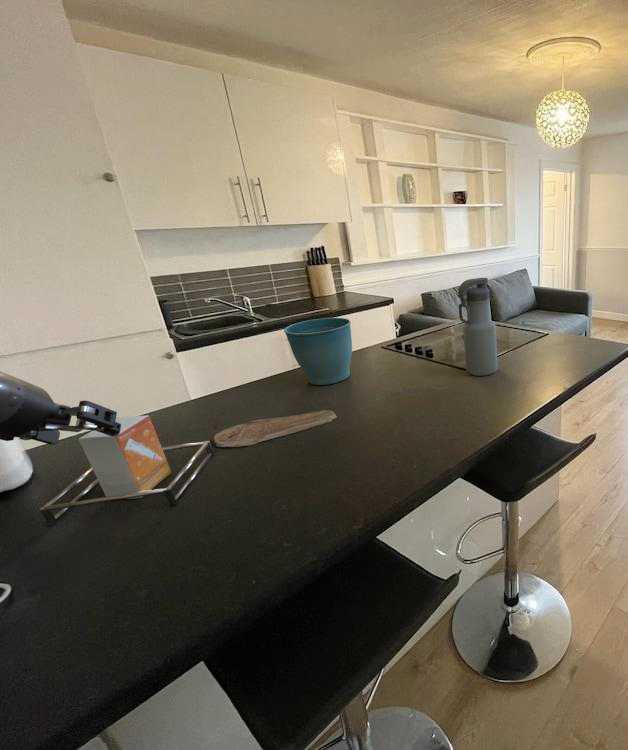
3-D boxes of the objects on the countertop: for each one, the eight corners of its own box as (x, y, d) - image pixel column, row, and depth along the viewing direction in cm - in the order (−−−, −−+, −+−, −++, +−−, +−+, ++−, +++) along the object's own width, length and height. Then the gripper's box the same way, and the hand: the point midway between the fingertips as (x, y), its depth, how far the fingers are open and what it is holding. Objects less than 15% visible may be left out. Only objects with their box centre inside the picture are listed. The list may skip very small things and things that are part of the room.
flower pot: (286, 381, 125) (273, 327, 118) (341, 364, 137) (331, 314, 131) (315, 395, 114) (301, 337, 107) (371, 375, 126) (362, 322, 120)
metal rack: (47, 526, 68) (37, 509, 67) (112, 469, 83) (105, 454, 82) (175, 506, 72) (168, 489, 70) (215, 454, 87) (210, 439, 86)
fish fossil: (329, 405, 107) (329, 401, 107) (339, 423, 100) (338, 419, 99) (213, 434, 94) (212, 430, 94) (214, 456, 87) (213, 452, 86)
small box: (143, 498, 74) (114, 436, 69) (106, 501, 74) (75, 438, 69) (173, 472, 82) (149, 414, 77) (140, 474, 81) (114, 416, 76)
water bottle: (473, 379, 120) (467, 283, 109) (459, 369, 128) (452, 279, 117) (503, 372, 125) (500, 279, 114) (488, 363, 132) (483, 275, 122)
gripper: (59, 367, 55) (140, 407, 69) (-73, 380, 52) (40, 418, 67) (46, 420, 52) (133, 450, 67) (-94, 437, 49) (29, 464, 64)
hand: (87, 434), depth 67 cm, fingers open, 8 cm apart
